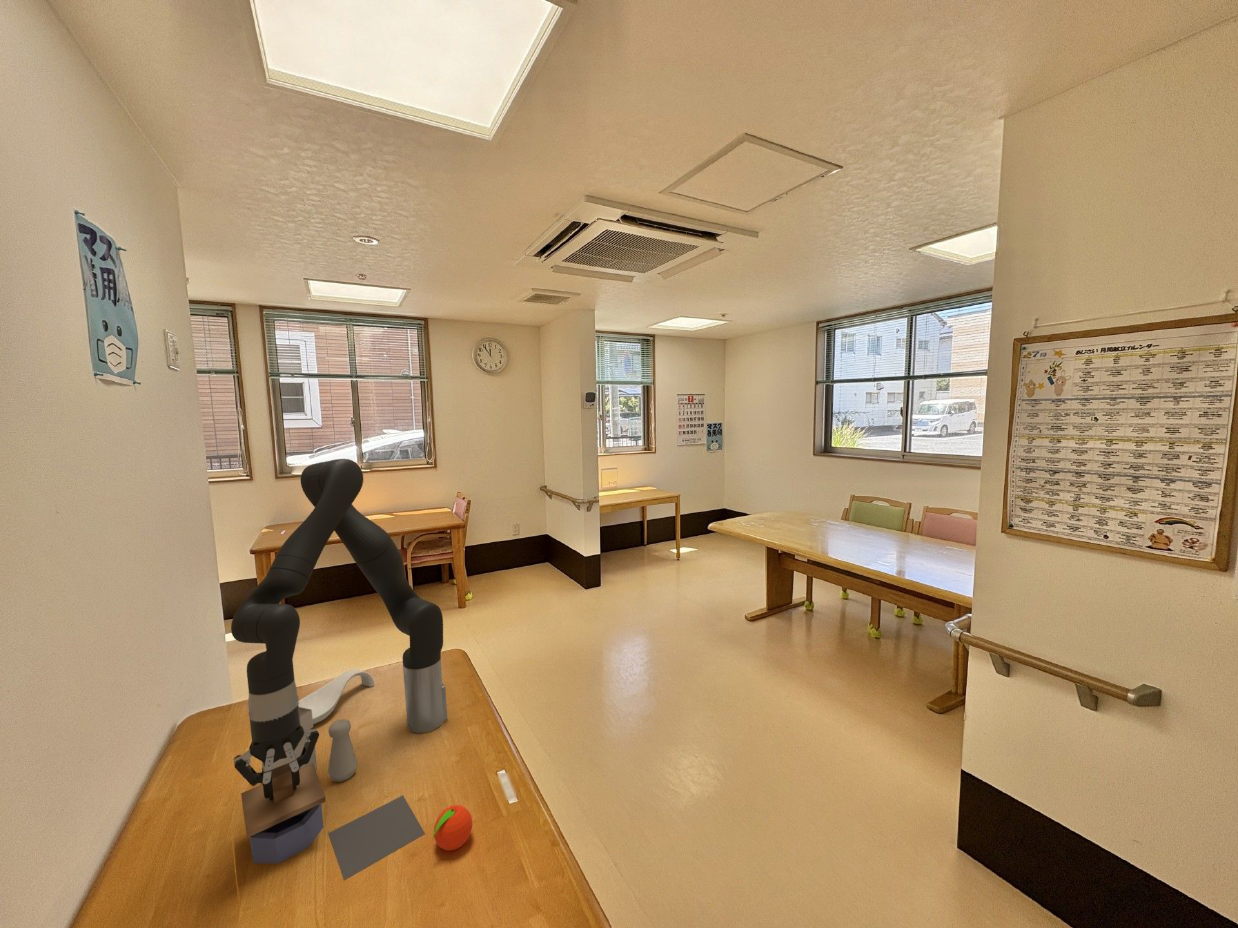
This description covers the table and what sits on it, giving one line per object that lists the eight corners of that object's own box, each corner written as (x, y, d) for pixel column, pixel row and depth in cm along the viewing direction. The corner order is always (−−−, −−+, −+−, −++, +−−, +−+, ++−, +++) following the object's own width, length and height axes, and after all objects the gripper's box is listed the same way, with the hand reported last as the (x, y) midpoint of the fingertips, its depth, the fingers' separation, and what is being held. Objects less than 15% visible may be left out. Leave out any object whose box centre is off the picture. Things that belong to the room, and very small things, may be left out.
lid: (313, 767, 102) (311, 740, 102) (325, 801, 93) (323, 771, 93) (241, 797, 95) (238, 768, 94) (246, 837, 86) (243, 805, 85)
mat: (403, 797, 105) (403, 794, 104) (425, 836, 95) (425, 833, 95) (328, 835, 95) (328, 832, 95) (344, 883, 86) (344, 879, 86)
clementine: (446, 871, 87) (444, 835, 87) (422, 853, 91) (419, 818, 90) (481, 838, 94) (479, 804, 93) (456, 822, 98) (454, 790, 97)
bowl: (315, 806, 103) (313, 781, 102) (327, 840, 94) (324, 814, 94) (249, 837, 95) (246, 811, 95) (255, 877, 87) (252, 849, 86)
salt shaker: (328, 790, 107) (322, 734, 106) (329, 773, 112) (324, 719, 111) (358, 780, 110) (353, 726, 108) (358, 764, 115) (354, 712, 113)
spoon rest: (307, 737, 125) (305, 711, 124) (276, 727, 130) (274, 701, 129) (383, 688, 147) (381, 665, 146) (354, 681, 151) (352, 659, 151)
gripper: (313, 685, 99) (320, 764, 101) (225, 713, 90) (234, 800, 92) (321, 701, 94) (328, 784, 96) (227, 733, 85) (237, 825, 86)
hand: (282, 791), depth 94 cm, fingers closed on lid, 3 cm apart
